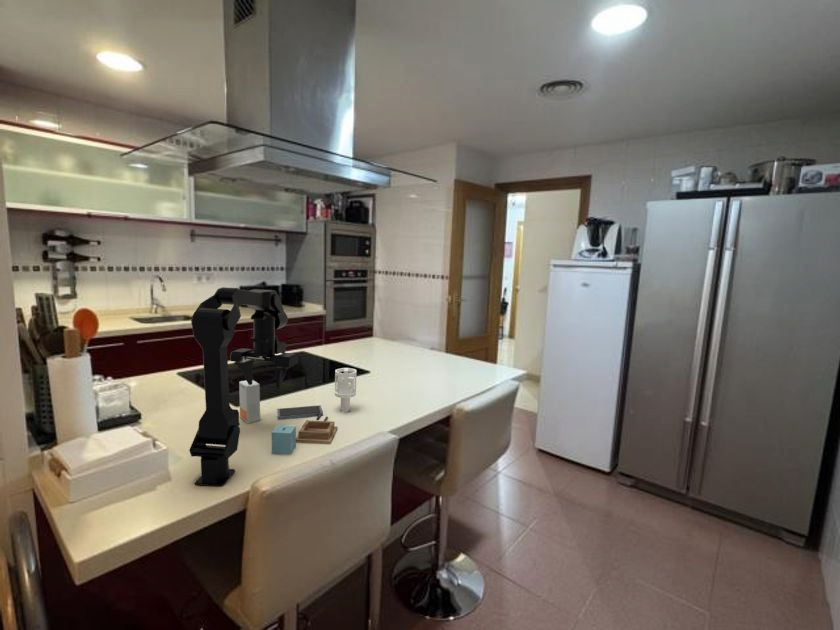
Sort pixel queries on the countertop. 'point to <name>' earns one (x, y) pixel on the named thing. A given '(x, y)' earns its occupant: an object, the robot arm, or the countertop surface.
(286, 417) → the phone
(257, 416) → the skincare box
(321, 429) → the dock
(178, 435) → the countertop surface
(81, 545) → the countertop surface
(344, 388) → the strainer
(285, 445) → the blue drawer box
